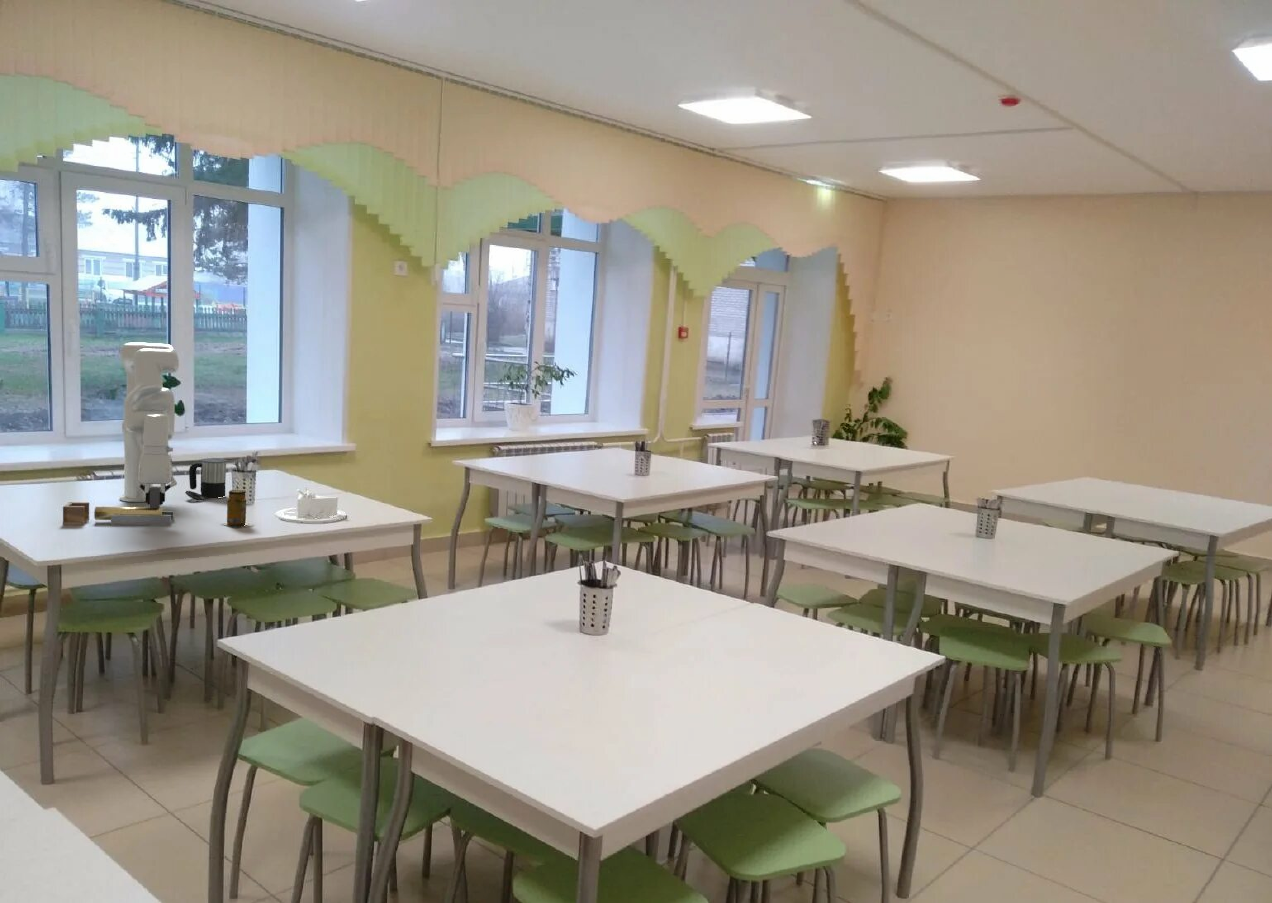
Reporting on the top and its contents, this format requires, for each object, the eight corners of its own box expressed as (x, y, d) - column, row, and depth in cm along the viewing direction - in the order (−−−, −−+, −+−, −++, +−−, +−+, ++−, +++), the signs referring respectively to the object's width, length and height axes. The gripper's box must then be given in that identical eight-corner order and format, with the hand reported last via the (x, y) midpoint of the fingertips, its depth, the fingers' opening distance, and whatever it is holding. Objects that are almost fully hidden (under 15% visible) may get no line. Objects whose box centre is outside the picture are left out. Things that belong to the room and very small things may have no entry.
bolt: (97, 518, 323) (97, 485, 321) (162, 518, 329) (163, 486, 328) (94, 521, 319) (94, 487, 317) (160, 521, 325) (161, 488, 324)
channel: (115, 520, 326) (115, 510, 326) (173, 520, 332) (173, 511, 332) (110, 525, 319) (110, 515, 318) (170, 525, 325) (170, 515, 324)
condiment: (239, 521, 337) (239, 488, 336) (254, 526, 333) (255, 492, 331) (220, 524, 331) (221, 490, 330) (235, 528, 327) (236, 494, 325)
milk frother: (227, 494, 382) (227, 458, 380) (224, 502, 368) (225, 464, 366) (187, 494, 377) (188, 457, 375) (184, 502, 363) (184, 463, 361)
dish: (272, 524, 339) (273, 492, 338) (278, 509, 363) (278, 480, 362) (345, 524, 346) (346, 494, 345) (345, 510, 370) (346, 482, 369)
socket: (69, 519, 322) (69, 502, 321) (89, 519, 324) (89, 502, 323) (63, 524, 314) (63, 506, 314) (83, 524, 316) (83, 507, 316)
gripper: (183, 449, 330) (183, 502, 332) (130, 448, 324) (130, 501, 327) (181, 452, 323) (180, 506, 325) (126, 451, 317) (126, 505, 320)
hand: (155, 503), depth 326 cm, fingers closed on bolt, 3 cm apart
